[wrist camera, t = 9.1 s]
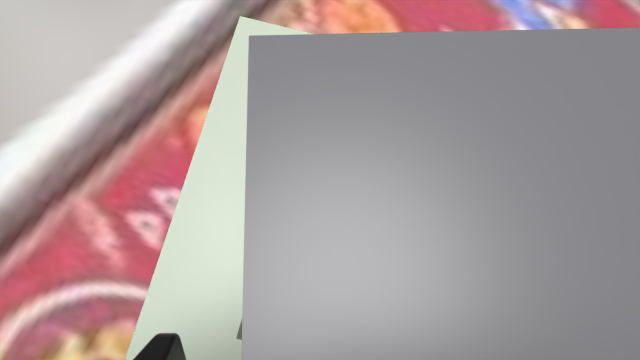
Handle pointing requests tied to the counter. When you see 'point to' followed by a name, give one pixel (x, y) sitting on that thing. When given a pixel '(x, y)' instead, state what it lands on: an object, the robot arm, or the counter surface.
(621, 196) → the white plug block
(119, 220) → the counter surface
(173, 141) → the counter surface
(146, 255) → the counter surface
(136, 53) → the counter surface
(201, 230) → the sage block
